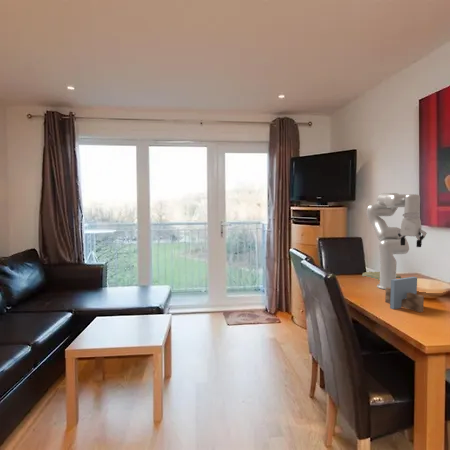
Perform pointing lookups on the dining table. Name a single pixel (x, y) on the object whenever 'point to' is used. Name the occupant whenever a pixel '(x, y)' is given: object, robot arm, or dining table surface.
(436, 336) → the dining table surface
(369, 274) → the decorative tile
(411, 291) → the slate slotted plate
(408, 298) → the mottled stone notched panel
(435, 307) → the dining table surface
